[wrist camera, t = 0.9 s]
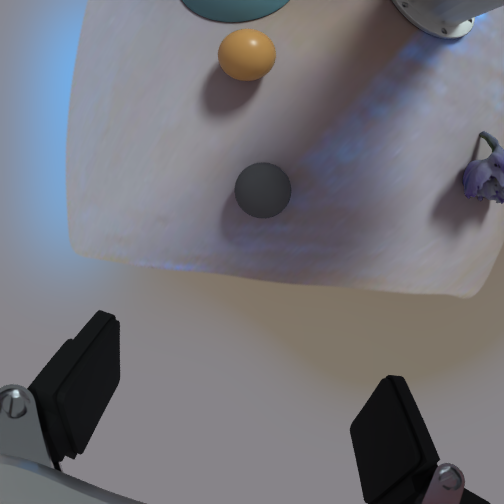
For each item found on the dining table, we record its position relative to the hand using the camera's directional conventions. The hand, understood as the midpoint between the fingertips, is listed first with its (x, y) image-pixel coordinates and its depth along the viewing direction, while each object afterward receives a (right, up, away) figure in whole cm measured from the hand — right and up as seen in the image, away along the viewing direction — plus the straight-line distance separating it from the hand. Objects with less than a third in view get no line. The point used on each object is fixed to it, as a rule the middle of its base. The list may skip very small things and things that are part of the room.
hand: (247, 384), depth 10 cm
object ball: (0, +23, +16) cm, 28 cm away
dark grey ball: (+1, +11, +21) cm, 23 cm away
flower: (+28, +15, +20) cm, 38 cm away
